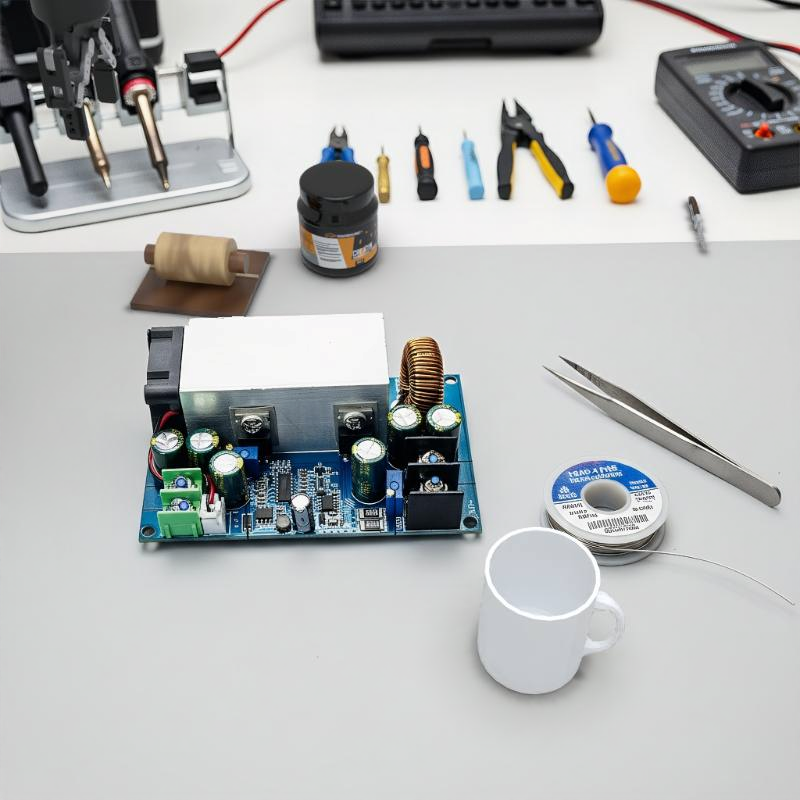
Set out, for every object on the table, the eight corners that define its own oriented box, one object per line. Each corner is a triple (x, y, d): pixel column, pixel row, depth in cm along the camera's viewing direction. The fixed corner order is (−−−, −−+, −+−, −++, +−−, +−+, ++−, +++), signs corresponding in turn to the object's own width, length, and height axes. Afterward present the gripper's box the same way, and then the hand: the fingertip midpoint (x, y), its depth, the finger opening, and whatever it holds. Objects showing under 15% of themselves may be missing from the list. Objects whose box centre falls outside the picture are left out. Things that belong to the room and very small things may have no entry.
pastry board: (131, 309, 125) (129, 301, 124) (165, 248, 135) (164, 240, 134) (243, 320, 123) (242, 313, 123) (270, 258, 133) (269, 250, 132)
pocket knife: (685, 202, 144) (688, 190, 143) (691, 202, 144) (694, 190, 143) (700, 256, 134) (703, 243, 133) (707, 256, 134) (710, 244, 133)
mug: (472, 607, 93) (480, 527, 85) (600, 606, 93) (620, 526, 85) (480, 698, 86) (489, 620, 78) (618, 697, 86) (641, 619, 78)
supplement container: (325, 289, 128) (320, 210, 120) (286, 250, 135) (280, 171, 126) (393, 264, 132) (394, 185, 124) (353, 227, 139) (351, 150, 131)
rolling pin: (143, 286, 126) (135, 247, 122) (159, 259, 131) (151, 221, 126) (242, 297, 125) (237, 257, 121) (254, 269, 129) (250, 230, 125)
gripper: (55, -64, 101) (86, 87, 112) (-8, -13, 90) (33, 148, 101) (126, -59, 100) (150, 93, 111) (71, -7, 89) (103, 155, 100)
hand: (94, 119), depth 106 cm, fingers open, 8 cm apart
